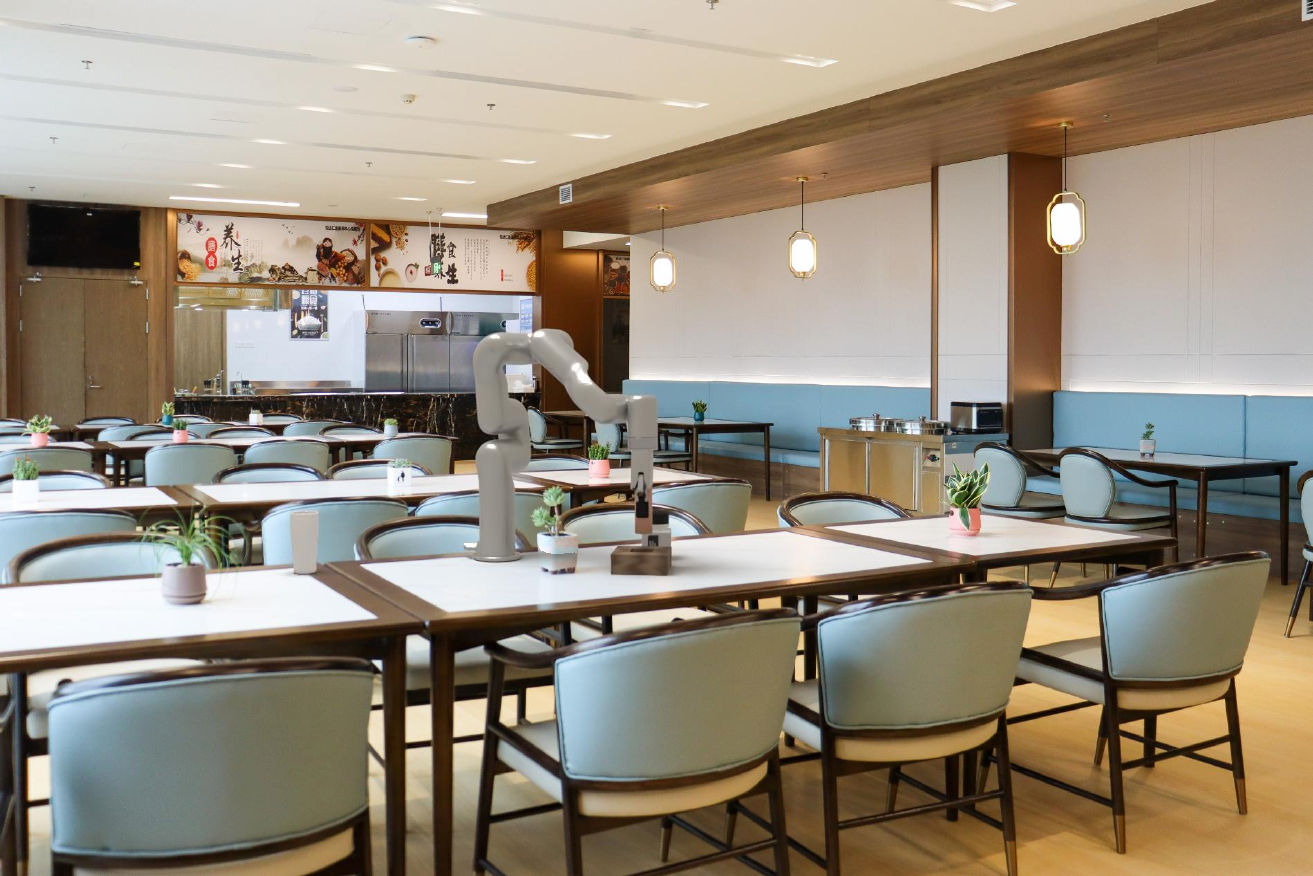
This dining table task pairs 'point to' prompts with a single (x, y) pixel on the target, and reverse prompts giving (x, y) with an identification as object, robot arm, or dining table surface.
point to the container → (658, 530)
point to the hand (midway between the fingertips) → (643, 515)
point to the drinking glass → (304, 540)
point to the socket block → (641, 560)
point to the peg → (644, 523)
